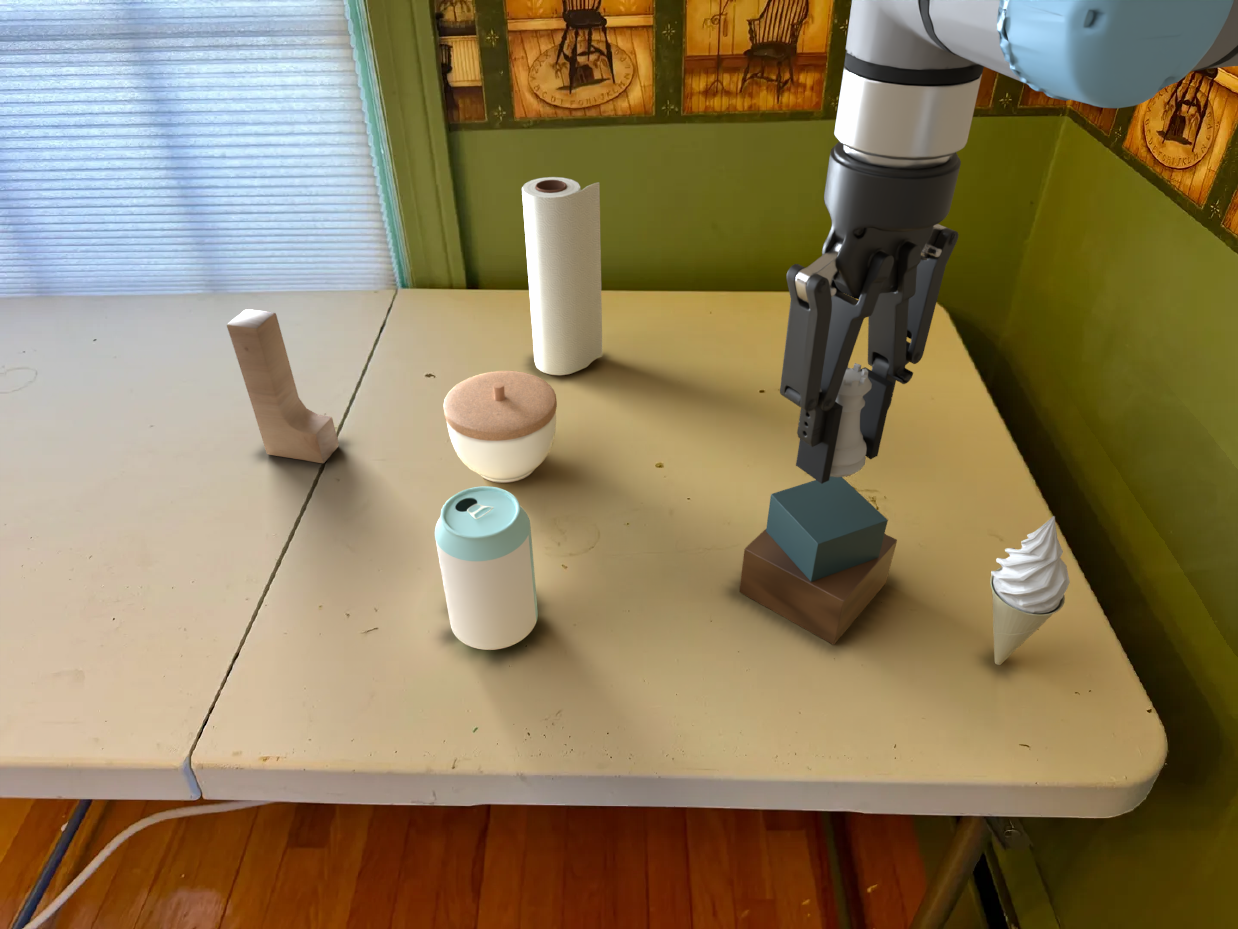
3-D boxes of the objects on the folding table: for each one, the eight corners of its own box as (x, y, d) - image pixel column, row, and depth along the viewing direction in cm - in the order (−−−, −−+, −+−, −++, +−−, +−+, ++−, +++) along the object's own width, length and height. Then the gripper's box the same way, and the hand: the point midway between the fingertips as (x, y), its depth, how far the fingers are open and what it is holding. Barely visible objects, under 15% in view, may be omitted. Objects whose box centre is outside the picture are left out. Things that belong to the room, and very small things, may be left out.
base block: (886, 583, 74) (897, 539, 71) (833, 645, 69) (843, 601, 66) (794, 537, 79) (801, 494, 76) (739, 592, 74) (743, 548, 70)
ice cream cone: (960, 633, 70) (1010, 488, 61) (1027, 643, 69) (1088, 497, 60) (966, 683, 66) (1022, 536, 57) (1037, 694, 65) (1105, 546, 56)
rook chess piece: (860, 444, 68) (878, 355, 63) (868, 481, 64) (887, 389, 59) (802, 442, 68) (814, 353, 63) (807, 478, 64) (820, 387, 59)
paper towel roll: (526, 371, 102) (511, 191, 89) (547, 346, 106) (536, 171, 93) (583, 383, 100) (576, 200, 87) (602, 357, 104) (599, 179, 91)
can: (443, 654, 68) (421, 541, 61) (460, 589, 74) (442, 478, 67) (532, 657, 68) (521, 544, 61) (543, 591, 74) (534, 481, 66)
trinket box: (439, 493, 84) (426, 413, 78) (468, 429, 92) (457, 352, 87) (549, 502, 83) (544, 421, 77) (567, 436, 91) (564, 359, 86)
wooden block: (266, 454, 89) (225, 324, 80) (283, 436, 91) (245, 307, 82) (323, 464, 88) (289, 332, 78) (340, 445, 90) (308, 315, 81)
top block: (878, 557, 70) (888, 520, 67) (810, 582, 67) (817, 544, 65) (830, 509, 74) (837, 472, 72) (765, 531, 72) (770, 493, 70)
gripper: (942, 106, 58) (878, 401, 72) (742, 157, 50) (715, 476, 64) (1042, 135, 53) (952, 445, 67) (838, 197, 45) (786, 532, 59)
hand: (837, 460), depth 66 cm, fingers closed on rook chess piece, 4 cm apart
